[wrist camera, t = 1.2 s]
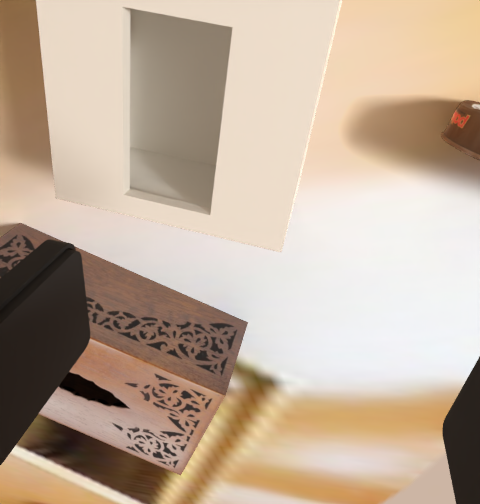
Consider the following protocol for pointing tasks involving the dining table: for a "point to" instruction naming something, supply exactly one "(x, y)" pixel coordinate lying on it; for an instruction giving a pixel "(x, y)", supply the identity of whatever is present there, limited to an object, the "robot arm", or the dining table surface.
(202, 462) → the dining table surface
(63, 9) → the white rectangular block
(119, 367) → the tissue box cover
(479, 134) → the tin
